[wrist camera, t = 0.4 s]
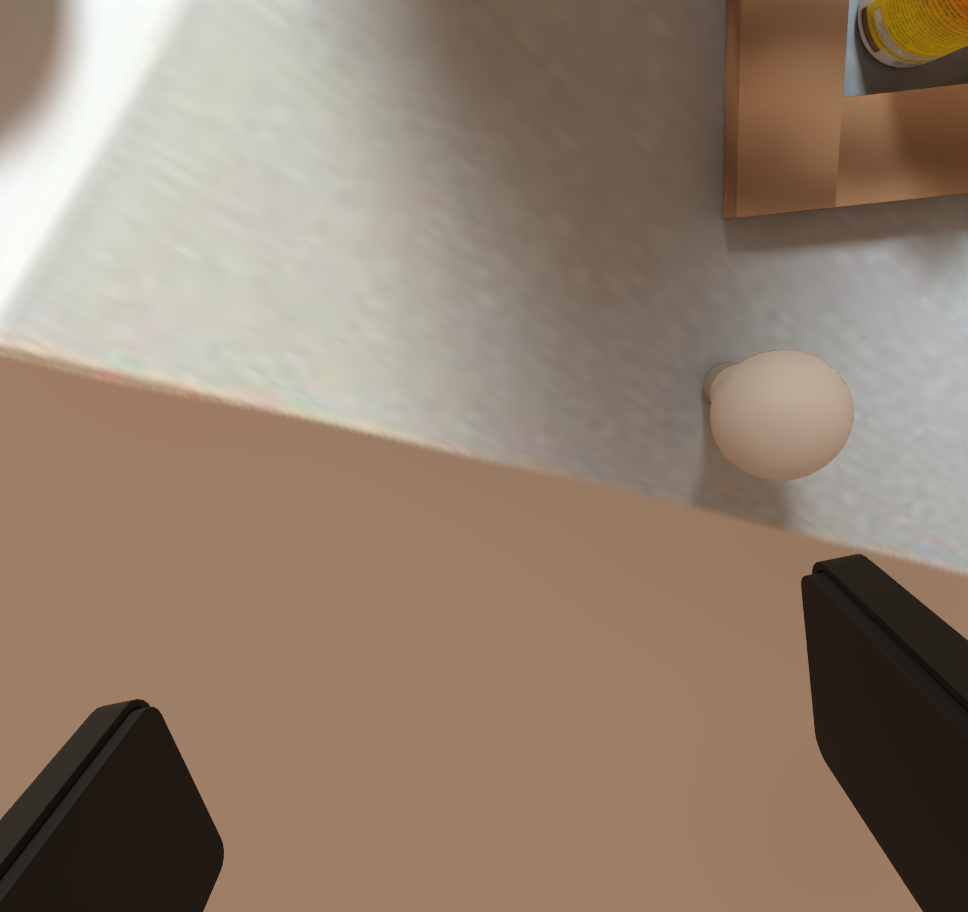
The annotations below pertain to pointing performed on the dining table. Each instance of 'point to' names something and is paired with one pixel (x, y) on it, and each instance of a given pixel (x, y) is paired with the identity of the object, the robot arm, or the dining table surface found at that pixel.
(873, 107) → the wooden square frame
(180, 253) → the dining table surface
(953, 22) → the supplement bottle
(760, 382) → the lightbulb
